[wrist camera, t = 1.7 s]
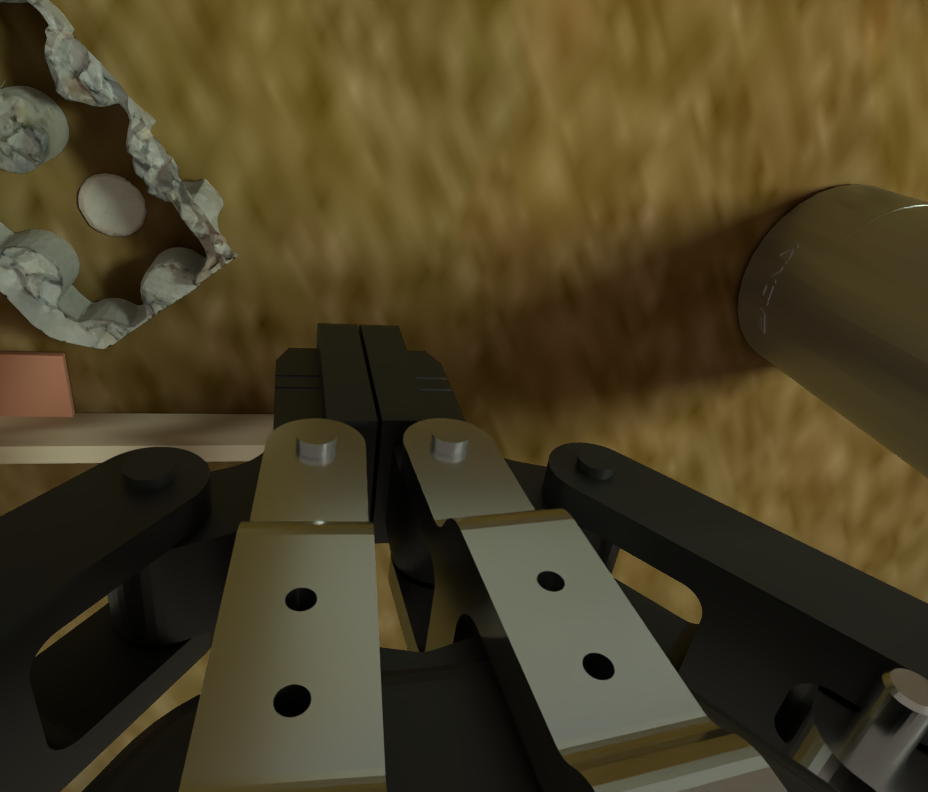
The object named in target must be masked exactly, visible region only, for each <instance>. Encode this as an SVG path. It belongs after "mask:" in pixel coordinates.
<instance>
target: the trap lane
mask: <svg viewBox="0 0 928 792" xmlns="http://www.w3.org/2000/svg"><path fill="white" fill-rule="evenodd" d="M273 422H274V414H151V413H75V410H74V404H73V399H72V393H71V387H70V381H69V375H68V370H67V364H66V358H65V353H55V352H18V351H0V464H44V463H103V462H104V461H106V460H108V459H110V458H112V457H114V456H117V455H119V454H122V453H125V452H128V451H132V450H136V449H141V448H147V447H173V448H179V449H184V450H187V451H190V452H193V453H195V454H197V455H198V456H200V457H201V458H202V459H203V460H204V461H205V462H217V461H250V460H252V459H254V458H256V457H257V456H259V455H260V454H262V453H263V452H264V448H265V443H266V440H267V437H268V436H269V435H270V433H271V432H272V431H273Z"/></svg>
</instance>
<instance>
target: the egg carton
mask: <svg viewBox="0 0 928 792" xmlns="http://www.w3.org/2000/svg"><path fill="white" fill-rule="evenodd" d="M0 2H9V3H30V4H31V5H32V6H34V7H35V8H36V9H37V10H38V11H40V13H41V14H42V16H43V17H44V19H45V20H46V21H47V23H48V24H49V26H48V27H47V28H46V30H45V33H46V36H47V40H46V43H45V50H44V57H45V59H46V62H47V64H48V67H49V70H50V73H51V76H52V78H53V80H54V82H55V88H56V92H57V93H59V94H60V95H61V96H62V97H63V98H65V99H66V100H67V101H78V102H82V103H85V104H88V105H91V106H98V107H105V106H110V105H113V104H120V105H121V106H122V107H123V108H124V109H125V111H126V112H127V114H128V116H129V120H130V122H129V127H128V132H127V139H126V148H127V152H128V153H129V154H131V155H132V156H133V166H134V170H135V173H136V175H138V176H139V177H140V178H142V179H143V180H144V182H145V183H146V187H147V193H149V194H151V195H153V196H155V197H158V198H160V199H163V200H164V201H166V202H172V203H173V205H174V206H175V208H176V210H177V211H178V213H179V215H180V216H181V218H182V219H183V221H184V222H185V223H186V224H187V226H188V227H189V228H190V229H191V231H192V232H193V233H194V234H195V235H196V237H197V238H198V239H199V240H200V242H201V244H202V245H203V247H204V249H205V253H206V256H207V257H203V256H202V255H200V254H198V253H197V252H195V251H193V250H191V249H188V248H183V247H174V248H169V249H167V250H164V251H163V252H161V253H160V254H159V255H158V256H157V257H156V258H155V260H154V261H153V263H152V264H151V266H150V267H149V269H148V270H147V272H146V273H145V275H144V277H143V279H142V282H141V288H140V292H141V298H142V301H143V303H144V304H143V305H136V304H134V303H132V302H129V301H127V300H124V299H120V298H107V299H103V300H101V301H99V302H91V301H89V300H88V299H87V298H85V297H84V296H83V295H82V294H81V293H80V292H78V290H77V289H76V288H75V287H74V286H73V285H72V283H73V282H74V281H75V279H76V278H77V276H78V273H79V267H80V263H79V259H78V256H77V254H76V252H75V250H74V249H73V247H72V246H71V245H70V243H69V242H67V241H66V240H65V239H63V238H62V237H60V236H58V235H56V234H55V233H53V232H50V231H46V230H36V229H30V230H27V231H23V232H19V233H13V232H12V231H10V230H9V229H8V228H7V227H6V226H5V225H3V224H2V223H1V222H0V291H1V292H2V293H3V294H4V295H5V297H6V298H7V299H8V300H9V301H10V302H11V303H12V304H13V305H14V306H15V307H16V308H17V309H18V310H19V311H20V312H21V313H22V314H23V315H24V316H25V317H26V319H27V320H28V321H29V322H30V323H31V324H32V325H34V326H35V327H36V328H38V329H39V330H41V331H42V332H43V333H45V334H46V335H48V336H49V337H52V338H54V339H57V340H60V341H63V342H67V343H72V344H77V345H82V346H87V347H92V348H99V349H105V348H107V347H109V346H112V345H113V344H115V343H116V342H117V341H119V340H120V339H122V338H123V337H124V336H125V335H127V334H128V333H130V332H132V331H133V330H135V329H136V328H138V327H139V326H141V325H142V324H143V323H145V322H146V321H148V320H149V319H151V318H152V317H153V316H154V315H155V314H157V313H158V312H160V311H161V310H163V309H164V308H166V307H167V306H169V305H171V304H173V303H174V302H175V301H177V300H179V299H180V298H182V297H183V296H185V295H186V294H188V293H189V292H191V291H192V290H194V289H195V288H197V287H198V286H199V285H201V284H200V282H202V281H203V280H205V279H206V278H208V277H209V276H210V275H212V274H213V273H215V272H216V271H218V270H219V269H220V268H222V267H223V266H224V265H226V264H227V263H229V262H230V261H232V260H233V259H234V258H236V257H237V256H238V253H233V251H232V250H231V249H230V247H229V246H228V244H227V242H226V239H225V238H224V237H223V236H222V235H221V234H220V232H219V229H218V223H217V218H218V214H219V212H220V210H221V208H222V207H223V201H222V198H221V196H220V194H219V193H218V192H217V190H216V189H215V188H214V187H213V186H212V185H211V184H210V183H209V182H208V181H207V180H206V179H202V180H199V181H195V182H182V181H181V180H180V178H179V176H178V166H177V165H176V163H175V161H174V160H173V158H172V157H171V156H170V155H169V154H168V153H167V152H166V150H165V149H164V148H163V146H162V145H161V144H160V142H159V141H158V140H157V139H156V138H155V137H154V136H153V135H152V134H151V132H150V131H151V128H152V126H153V125H154V124H155V122H156V121H155V120H154V118H153V117H152V116H150V115H149V114H148V113H147V112H146V111H145V110H143V109H142V108H141V107H140V106H138V105H137V104H136V103H135V102H134V101H133V100H132V99H131V98H130V97H128V96H127V94H126V93H125V91H124V90H123V88H122V87H121V86H120V84H119V83H118V82H117V81H116V80H115V78H114V77H113V76H112V75H111V74H110V73H109V72H108V71H107V70H106V69H105V67H104V66H103V65H102V64H101V63H100V62H99V61H98V60H97V59H96V58H95V57H94V56H93V55H92V54H91V53H90V52H89V51H88V50H87V49H86V48H85V47H84V46H83V45H82V44H81V43H80V42H79V41H78V40H77V39H76V38H75V37H74V36H73V35H72V33H73V31H74V28H73V26H72V25H71V24H70V22H69V21H68V20H67V18H66V17H65V15H63V14H62V12H61V11H60V10H59V9H58V8H57V7H56V6H55V5H53V4H52V3H51V2H50V1H49V0H38V1H37V0H0ZM4 82H5V81H4ZM3 84H4V83H3ZM3 84H2V85H3ZM1 87H2V86H1ZM1 87H0V169H2V170H5V171H9V172H12V173H18V174H22V173H27V172H30V171H32V170H34V169H36V168H37V167H39V166H40V165H42V164H43V163H45V162H47V161H49V160H51V159H52V158H54V157H56V156H57V155H58V154H59V153H60V152H61V151H62V150H63V149H64V148H65V146H66V144H67V142H68V140H69V127H68V123H67V120H66V117H65V115H64V113H63V111H62V110H61V108H60V107H59V106H58V104H57V103H56V102H55V101H54V100H53V99H52V98H50V97H49V96H47V95H46V94H45V93H43V92H42V91H39V90H37V89H34V88H32V87H28V86H11V87H5V88H1ZM78 203H79V208H80V210H81V212H82V213H83V215H84V217H85V219H86V220H87V222H88V223H89V225H90V226H91V227H93V228H94V229H96V230H97V231H99V232H102V233H104V234H107V235H110V236H127V235H131V234H132V233H134V232H136V231H138V230H139V229H140V227H141V226H142V225H143V224H144V220H145V217H146V213H147V209H146V204H145V199H144V197H143V196H142V194H141V193H140V191H139V189H138V188H137V187H136V186H134V185H133V184H131V182H130V181H127V180H126V179H125V178H124V177H121V176H118V175H114V174H107V173H102V174H95V175H93V176H91V177H89V178H87V179H86V181H85V182H84V183H83V184H82V185H81V188H80V191H79V195H78Z"/></svg>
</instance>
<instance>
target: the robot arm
mask: <svg viewBox="0 0 928 792" xmlns="http://www.w3.org/2000/svg"><path fill="white" fill-rule="evenodd" d="M738 317H739V323H740V328H741V331H742V333H743V335H744V337H745V339H746V341H747V343H748V344H749V345H750V346H751V347H752V348H753V350H754V351H755V352H756V353H758V354H759V355H760V356H762V357H763V358H764V359H766V360H767V361H769V362H770V363H771V364H773V365H774V366H775V367H777V368H778V369H780V370H781V371H782V372H784V373H785V374H786V375H788V376H789V377H791V378H792V379H793V380H795V381H796V382H797V383H799V384H800V385H801V386H803V387H804V388H805V389H806V390H808V391H809V392H810V393H812V394H813V395H815V396H816V397H817V398H819V399H820V400H821V401H823V402H824V403H826V404H827V405H828V406H830V407H831V408H832V409H834V410H835V411H837V412H838V413H839V414H841V415H842V416H843V417H845V418H846V419H847V420H849V421H850V422H852V423H853V424H854V425H856V426H857V427H858V428H860V429H861V430H863V431H864V432H865V433H867V434H868V435H869V436H871V437H872V438H874V439H875V440H876V441H878V442H879V443H880V444H882V445H883V446H884V447H886V448H887V449H889V450H890V451H891V452H893V453H894V454H895V455H897V456H898V457H900V458H901V459H902V460H904V461H905V462H906V463H908V464H909V465H911V466H912V467H913V468H915V469H916V470H917V471H919V472H920V473H921V474H923V475H924V476H926V477H927V478H928V202H925V201H921V200H918V199H914V198H911V197H908V196H904V195H901V194H897V193H894V192H890V191H887V190H884V189H880V188H877V187H873V186H866V185H859V184H853V185H845V186H837V187H834V188H832V189H829V190H826V191H823V192H820V193H817V194H816V195H814V196H812V197H811V198H809V199H807V200H805V201H804V202H802V203H800V204H798V205H797V206H796V207H795V208H793V209H792V210H791V211H790V212H789V213H787V214H786V215H785V216H784V217H782V218H781V219H780V220H779V221H778V222H777V224H776V225H775V226H774V227H773V228H772V229H771V230H770V231H769V232H768V234H767V235H766V236H765V237H764V239H763V240H762V242H761V243H760V245H759V246H758V248H757V249H756V251H755V252H754V254H753V255H752V258H751V260H750V262H749V264H748V266H747V269H746V271H745V273H744V276H743V280H742V283H741V287H740V291H739V298H738ZM446 378H447V377H446V375H445V373H444V370H443V368H442V366H441V364H440V363H439V362H438V361H437V360H435V359H434V358H433V357H431V356H430V355H429V354H428V353H426V352H425V351H407V350H406V347H405V344H404V341H403V338H402V335H401V332H400V330H399V327H398V326H384V325H359V329H358V326H357V325H353V324H325V323H318V327H317V349H313V348H288V349H287V350H286V351H285V352H284V353H283V354H282V355H281V356H280V357H279V358H278V359H277V360H276V379H275V400H274V422H273V431H272V432H271V433H270V435H269V436H268V437H267V440H266V443H265V448H264V452H263V453H262V454H260V455H259V456H257V457H256V458H254V459H252V460H250V461H248V462H246V463H243V464H240V465H238V466H234V467H230V468H226V469H221V470H217V471H212V472H210V471H209V467H208V465H207V463H206V462H205V461H204V460H203V459H202V458H201V457H200V456H198V455H197V454H195V453H193V452H190V451H187V450H184V449H179V448H173V447H147V448H141V449H136V450H132V451H128V452H125V453H122V454H119V455H117V456H114V457H112V458H110V459H108V460H106V461H104V462H103V463H101V464H99V465H97V466H95V467H93V468H91V469H89V470H87V471H86V472H84V473H82V474H80V475H78V476H76V477H74V478H72V479H70V480H69V481H67V482H65V483H63V484H61V485H59V486H57V487H55V488H53V489H52V490H50V491H48V492H46V493H44V494H42V495H40V496H38V497H37V498H35V499H33V500H31V501H29V502H27V503H25V504H23V505H21V506H20V507H18V508H16V509H14V510H12V511H10V512H8V513H6V514H4V515H3V516H1V517H0V792H60V791H61V790H62V789H64V788H65V787H66V786H67V785H68V784H69V783H70V782H71V781H72V780H73V779H74V778H75V777H76V776H77V775H78V774H79V773H80V772H81V771H82V770H84V769H85V768H86V767H87V766H88V765H89V764H90V763H91V762H92V761H93V760H94V759H95V758H96V757H97V756H98V755H99V754H100V753H101V752H102V751H104V750H105V749H106V748H107V747H108V746H109V745H110V744H111V743H112V742H113V741H114V740H115V739H116V738H117V737H118V736H119V735H120V734H121V733H122V732H124V731H125V730H126V729H127V728H128V727H129V726H130V725H131V724H132V723H133V722H134V721H135V720H136V719H137V718H138V717H139V716H140V715H141V714H142V713H144V712H145V711H146V710H147V709H148V708H149V707H150V706H151V705H152V704H153V703H154V702H155V701H156V700H157V699H158V698H159V697H160V696H161V695H163V694H164V693H165V692H166V691H167V690H168V689H169V688H170V687H171V686H172V685H173V684H174V683H175V682H176V681H177V680H178V679H179V678H180V677H181V676H183V675H184V674H185V673H186V672H187V671H188V670H189V669H190V668H191V667H192V666H193V665H194V664H195V663H196V662H197V661H198V660H199V659H200V658H201V657H203V656H204V655H205V654H206V653H207V651H208V650H209V649H210V648H211V650H210V654H209V659H208V663H207V668H206V672H205V676H204V681H203V685H202V690H201V694H200V695H197V696H196V697H194V698H192V699H190V700H188V701H187V702H185V703H183V704H181V705H179V706H178V707H176V708H174V709H173V710H172V711H170V712H169V713H167V714H166V715H164V716H163V717H161V718H160V719H158V720H157V721H156V722H154V723H153V724H152V725H150V726H149V727H148V728H147V729H146V730H144V731H143V732H142V733H141V734H140V735H138V736H137V737H136V738H135V739H134V740H132V741H131V742H130V743H129V744H128V745H127V746H126V747H125V748H124V749H123V750H122V751H121V752H120V753H119V754H118V755H117V756H116V757H115V758H114V759H113V760H112V761H111V762H110V763H109V764H108V765H107V766H106V767H105V769H104V770H103V771H102V772H101V773H100V774H99V775H98V776H97V777H96V778H95V779H94V780H93V781H92V782H91V783H90V784H89V785H88V786H87V787H86V788H85V789H84V790H83V791H82V792H928V604H927V603H925V602H923V601H921V600H919V599H917V598H915V597H913V596H911V595H909V594H907V593H905V592H903V591H901V590H899V589H897V588H895V587H893V586H891V585H888V584H886V583H884V582H882V581H880V580H878V579H876V578H874V577H872V576H870V575H868V574H866V573H864V572H862V571H860V570H858V569H856V568H854V567H852V566H849V565H847V564H845V563H843V562H841V561H839V560H837V559H835V558H833V557H831V556H829V555H827V554H825V553H823V552H821V551H819V550H817V549H815V548H813V547H811V546H808V545H806V544H804V543H802V542H800V541H798V540H796V539H794V538H792V537H790V536H788V535H786V534H784V533H782V532H780V531H778V530H776V529H774V528H772V527H770V526H767V525H765V524H763V523H761V522H759V521H757V520H755V519H753V518H751V517H749V516H747V515H745V514H743V513H741V512H739V511H737V510H735V509H733V508H731V507H728V506H726V505H724V504H722V503H720V502H718V501H716V500H714V499H712V498H710V497H708V496H706V495H704V494H702V493H700V492H698V491H696V490H694V489H692V488H690V487H687V486H685V485H683V484H681V483H679V482H677V481H675V480H673V479H671V478H669V477H667V476H665V475H663V474H661V473H659V472H657V471H655V470H653V469H651V468H649V467H646V466H644V465H642V464H640V463H638V462H636V461H634V460H632V459H630V458H628V457H626V456H624V455H622V454H620V453H618V452H616V451H613V450H611V449H609V448H606V447H603V446H599V445H595V444H589V443H569V444H564V445H561V446H559V447H557V448H555V449H554V450H553V451H552V452H551V454H550V456H549V460H548V464H547V467H544V466H539V465H533V464H528V463H522V462H517V461H513V460H509V459H506V458H503V456H502V455H501V453H500V451H499V450H498V448H497V447H496V445H495V443H494V442H493V440H492V439H491V437H490V436H489V435H488V434H487V433H486V432H485V431H483V430H482V429H480V428H479V427H477V426H475V425H472V424H470V423H467V422H466V421H465V419H464V417H463V414H462V412H461V410H460V407H459V405H458V403H457V400H456V398H455V396H454V394H453V392H451V387H450V384H449V382H448V380H446ZM375 543H389V545H390V550H391V557H390V566H389V576H388V579H389V585H390V588H391V592H392V596H393V599H394V603H395V606H396V610H397V614H398V617H399V621H400V625H401V628H402V632H403V635H404V639H405V643H406V646H407V650H408V651H406V650H397V649H389V648H381V647H379V628H378V607H377V586H376V564H375ZM620 548H621V549H623V550H625V551H626V552H628V553H630V554H632V555H633V556H635V557H637V558H639V559H640V560H642V561H644V562H646V563H647V564H649V565H651V566H653V567H654V568H656V569H658V570H660V571H661V572H663V573H665V574H667V575H668V576H670V577H672V578H674V579H675V580H677V581H679V582H681V583H683V584H684V585H686V586H687V587H688V588H690V589H691V590H692V591H693V592H694V593H695V595H696V596H697V597H698V599H699V601H700V603H701V606H702V618H701V621H700V623H699V624H693V623H690V622H687V621H685V620H683V619H682V618H680V617H678V616H677V615H675V614H673V613H672V612H670V611H668V610H667V609H665V608H663V607H662V606H660V605H658V604H657V603H655V602H653V601H652V600H650V599H648V598H647V597H645V596H643V595H642V594H640V593H638V592H637V591H635V590H633V589H632V588H630V587H628V586H627V585H625V584H623V583H622V582H620V581H618V580H617V579H615V578H613V576H612V575H611V574H612V571H613V568H614V565H615V562H616V559H617V556H618V553H619V550H620ZM106 595H108V601H109V603H108V604H106V605H105V606H104V607H102V608H101V609H100V610H98V611H97V612H96V613H94V614H93V615H91V616H90V617H89V618H87V619H86V620H85V621H83V622H82V623H81V624H79V625H78V626H77V627H75V628H74V629H73V630H71V631H70V632H68V633H67V634H66V635H64V636H63V637H62V638H60V639H59V640H58V641H56V642H55V643H54V644H52V645H51V646H50V647H48V648H47V649H46V650H44V651H43V652H41V653H40V654H39V655H37V656H36V654H37V653H38V651H39V650H40V648H41V647H42V646H43V644H44V643H45V642H46V641H47V640H48V639H49V638H50V637H51V636H52V635H53V634H54V633H56V632H57V631H58V630H60V629H61V628H62V627H64V626H65V625H66V624H68V623H69V622H71V621H72V620H73V619H75V618H76V617H77V616H79V615H80V614H82V613H83V612H84V611H86V610H87V609H88V608H90V607H91V606H93V605H94V604H95V603H97V602H98V601H99V600H101V599H102V598H104V597H105V596H106ZM35 656H36V657H35Z"/></svg>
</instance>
